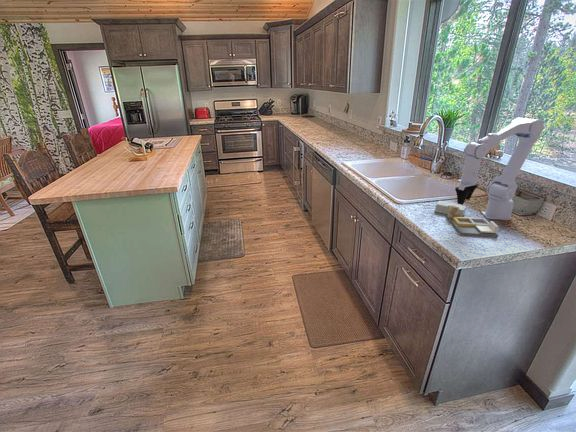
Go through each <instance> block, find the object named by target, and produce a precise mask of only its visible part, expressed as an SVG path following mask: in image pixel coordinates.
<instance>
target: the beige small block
mask: <svg viewBox="0 0 576 432" xmlns="http://www.w3.org/2000/svg"><path fill="white" fill-rule="evenodd" d="M458 212H459V206H456V205H450V207H449V211H448V215H446V216H447V217H446V219H448V220H449V221H450V219H453V217H457V216H458Z"/></svg>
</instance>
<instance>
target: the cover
mask: <svg viewBox="0 0 576 432" xmlns="http://www.w3.org/2000/svg"><path fill="white" fill-rule="evenodd" d="M489 223H490V224H489V226H476V228H477V229H478V230H479V231H480V232H485V233H497V234H498V230H499V225H497V223H495V222H494V221H493V220H490V221H489Z"/></svg>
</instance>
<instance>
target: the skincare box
mask: <svg viewBox="0 0 576 432" xmlns="http://www.w3.org/2000/svg"><path fill="white" fill-rule="evenodd" d="M450 205H456V206H459V212H458V216H457V217H464V216H465V213H466V209H467V206H465V205H461V204H458V203H451V202H449V201H448V202H447V201H443V200H439V201H437V203H436V205H435V210H434V212H435V213H440V214H443V215H446V216H448V211H449V207H450Z"/></svg>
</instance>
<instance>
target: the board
mask: <svg viewBox="0 0 576 432" xmlns="http://www.w3.org/2000/svg"><path fill="white" fill-rule="evenodd" d="M449 223H450V224H451V225H452V227H453V228H454V229H455V230H456V232H457V233H459V235H460V236H464V237H465V236H467V237H468V236H470V237H489V238H498V236H499V234H498V232H497V233H485V232H480V231H479V230H478V229H477V228H476V226H489V224H490V221H488V220H487V219H486V217H484V218H483V217H464V216H463V217H453V219H450V220H449Z"/></svg>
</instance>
